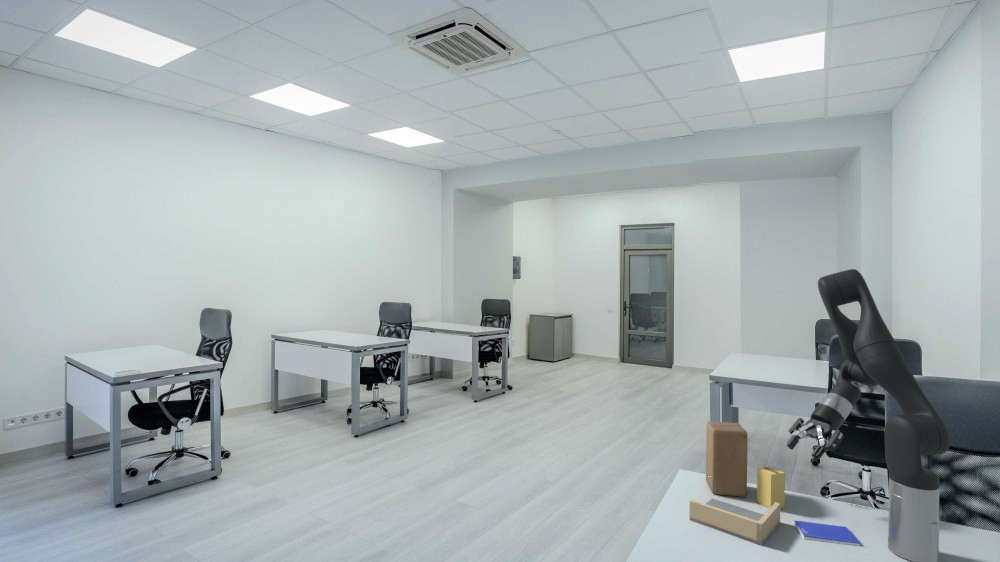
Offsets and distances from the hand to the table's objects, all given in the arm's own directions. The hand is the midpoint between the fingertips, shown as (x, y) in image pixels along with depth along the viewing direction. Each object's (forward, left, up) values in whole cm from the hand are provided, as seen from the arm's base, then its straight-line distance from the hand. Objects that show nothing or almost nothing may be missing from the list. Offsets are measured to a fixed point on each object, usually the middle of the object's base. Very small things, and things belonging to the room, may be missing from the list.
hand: (801, 452), depth 146 cm
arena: (+10, +28, -14) cm, 32 cm away
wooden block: (+19, +9, -14) cm, 25 cm away
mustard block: (+6, +10, -14) cm, 18 cm away
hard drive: (-9, +18, -15) cm, 25 cm away
